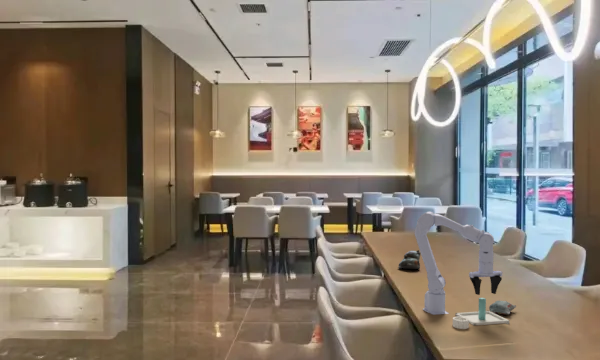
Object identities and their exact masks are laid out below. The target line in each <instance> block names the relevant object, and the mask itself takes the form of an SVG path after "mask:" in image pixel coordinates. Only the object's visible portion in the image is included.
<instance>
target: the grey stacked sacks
mask: <svg viewBox="0 0 600 360" xmlns="http://www.w3.org/2000/svg"><path fill="white" fill-rule="evenodd" d="M420 258H421V252H420V249H419V250H408V252H405V253H404V256H403V258H402V260H401V261H400V262H399V264H398V267H397V269H399V270H402V268H403V269H405V270H406V269H408V270H409V269H411V270H416V269H419V270H420V269H421V263H420Z"/></svg>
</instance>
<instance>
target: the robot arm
mask: <svg viewBox="0 0 600 360" xmlns="http://www.w3.org/2000/svg"><path fill="white" fill-rule="evenodd" d="M433 226H434V227H437V226H444V227H446V228H449V229H451V230H453V231H456V232H458V233H460V235H461V237H463V238H464V239H467V240H468V241H471V242H473V243H475V244H477V243H478V245H479V250H478V271H473V272H472V271H470V272H469V273H468V277H469V279H470V281H471V284H472V285H473V289H474V294H475V295H478V296H480V294H481V284H482V281H483V279H481V278H487V277H488V278H489V279H490V280H489V281H490V291H491V294H494V295H495V294H497V290H498V288H499V285H500V283H501V282H502V279H503V271H500V270H494V246H493V245H494V241H495V240H494V239H495V238H494V236H493V235H492V234H491V233H490V231H489V232H488V231H485V230H484V229H482V230H481V229H479V228H476V227H475V226H474V225H473V224H465V225H462V224H461V223H459V222H456V221H454V220H453V219H450V218H448V217H447V216H445V215H441V213H440V214H439V213H435V212H433V211H426V212H424V213H422V214H421V215H420V216H419V217H418V219H417V220H416V226H415V230H414V236H415V237H414V238H415V239H416V243H417V246H418V249H419V252H420V253H421V254H420V256H421V258H422V261H423V264H424V267H425V270H426V275H427V276H426V278H427V282H428V283H427V288H428V289H427V291H426V292H425V293H424V308H422V310H423V311H425V312H427V313H428V314H430V315H447V314H448V315H449V314H450V313H449V312H447V310H446V290H445V289H444V288H445V287H446V279H445V278H444V276H443V275H442V274H441V271H440V270H439V268H438V265H437V262H436V259H435V256H434V252H433V249H432V247H431V244H430V241H429V238H428V236H427V235H428V233H429V231H430V229H431V228H432V227H433Z"/></svg>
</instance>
